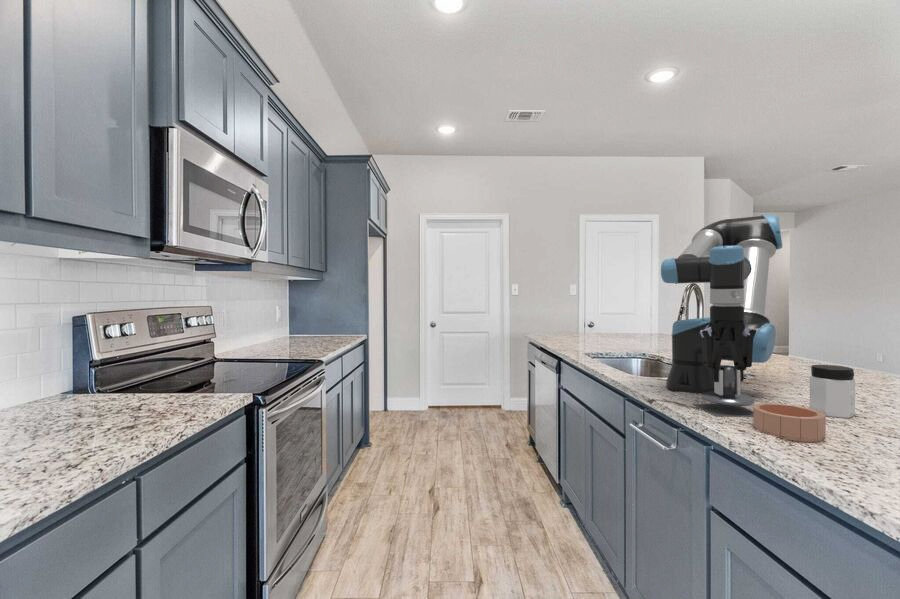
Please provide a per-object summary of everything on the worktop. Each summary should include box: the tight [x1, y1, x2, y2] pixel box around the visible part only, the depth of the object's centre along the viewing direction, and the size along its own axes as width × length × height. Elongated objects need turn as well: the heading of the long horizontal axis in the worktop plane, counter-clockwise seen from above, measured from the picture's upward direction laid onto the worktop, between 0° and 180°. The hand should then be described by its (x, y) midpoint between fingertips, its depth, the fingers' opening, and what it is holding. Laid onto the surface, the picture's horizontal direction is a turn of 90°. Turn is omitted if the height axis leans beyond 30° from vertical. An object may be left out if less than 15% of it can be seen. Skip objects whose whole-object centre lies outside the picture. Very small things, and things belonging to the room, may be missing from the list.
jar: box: [809, 364, 856, 419], centre depth 108 cm, size 9×8×12 cm
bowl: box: [752, 402, 827, 443], centre depth 94 cm, size 12×12×5 cm
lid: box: [701, 364, 755, 407], centre depth 111 cm, size 12×12×9 cm
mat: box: [691, 403, 753, 418], centre depth 110 cm, size 12×12×1 cm
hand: (727, 393), depth 111 cm, fingers closed on lid, 4 cm apart
